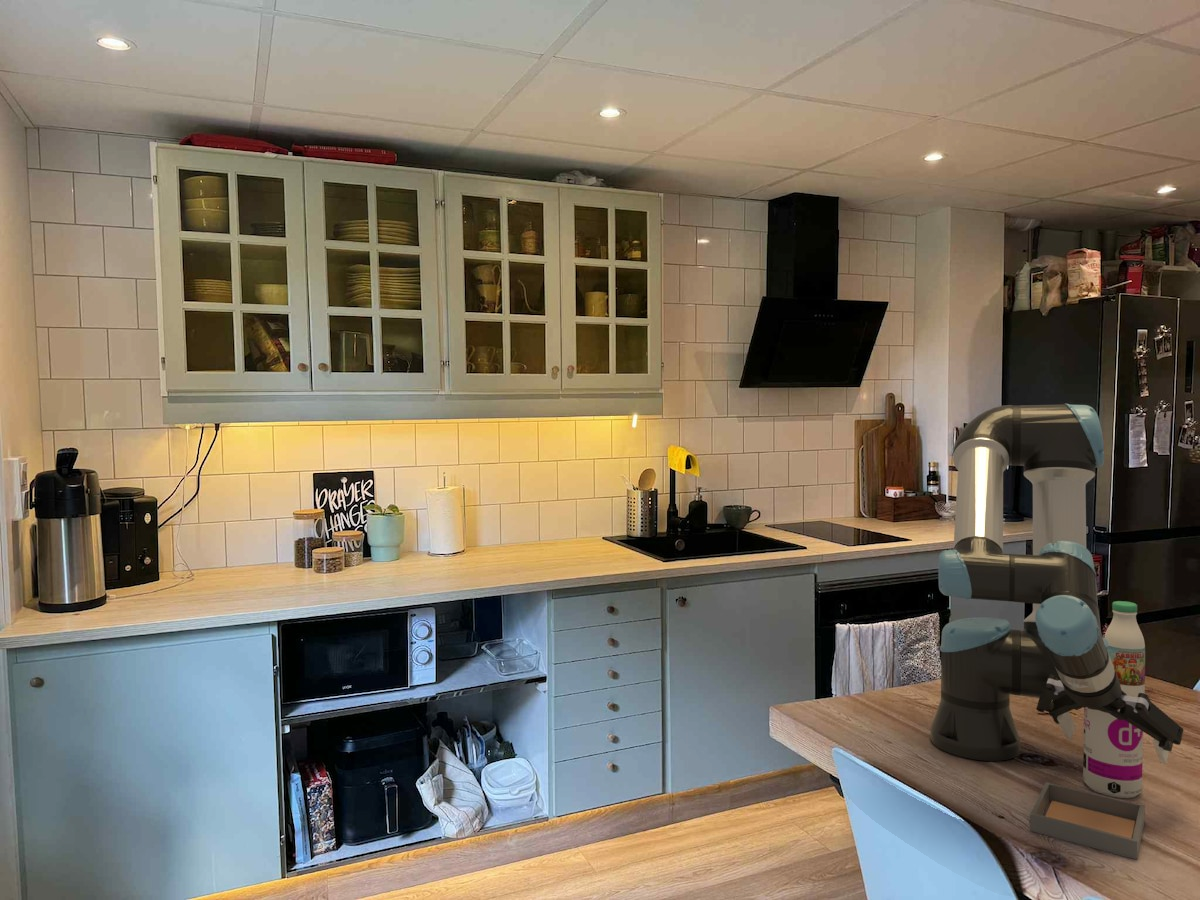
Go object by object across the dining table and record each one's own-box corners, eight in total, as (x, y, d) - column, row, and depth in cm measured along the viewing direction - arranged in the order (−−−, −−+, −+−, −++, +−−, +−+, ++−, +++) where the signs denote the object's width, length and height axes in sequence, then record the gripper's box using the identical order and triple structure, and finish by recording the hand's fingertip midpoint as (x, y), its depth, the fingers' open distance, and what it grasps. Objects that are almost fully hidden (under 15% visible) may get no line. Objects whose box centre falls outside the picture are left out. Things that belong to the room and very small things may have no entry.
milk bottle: (1094, 688, 182) (1095, 599, 181) (1126, 686, 183) (1127, 598, 182) (1120, 699, 174) (1121, 607, 173) (1153, 698, 175) (1154, 606, 174)
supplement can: (1153, 800, 129) (1155, 706, 128) (1100, 799, 129) (1102, 706, 128) (1122, 777, 137) (1123, 689, 136) (1072, 777, 137) (1073, 689, 137)
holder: (1136, 859, 112) (1137, 841, 111) (1029, 830, 120) (1030, 814, 119) (1144, 821, 122) (1144, 805, 122) (1045, 797, 130) (1045, 781, 130)
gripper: (994, 675, 131) (1029, 741, 141) (1180, 716, 112) (1204, 789, 123) (1008, 636, 134) (1041, 704, 145) (1190, 670, 116) (1213, 745, 126)
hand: (1116, 743), depth 134 cm, fingers open, 13 cm apart
